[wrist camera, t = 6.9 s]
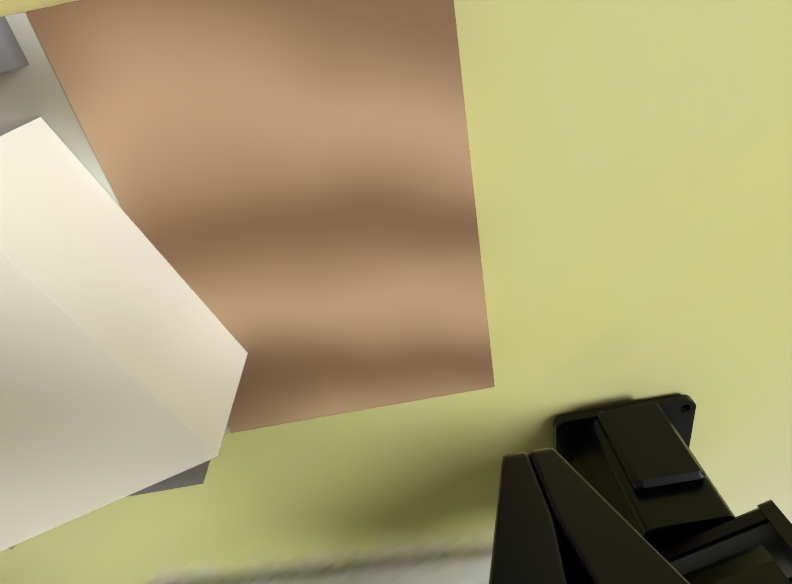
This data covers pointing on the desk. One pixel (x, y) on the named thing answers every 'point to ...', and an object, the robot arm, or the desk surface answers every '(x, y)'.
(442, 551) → the desk surface
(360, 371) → the display board
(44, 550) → the desk surface
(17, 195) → the carton
